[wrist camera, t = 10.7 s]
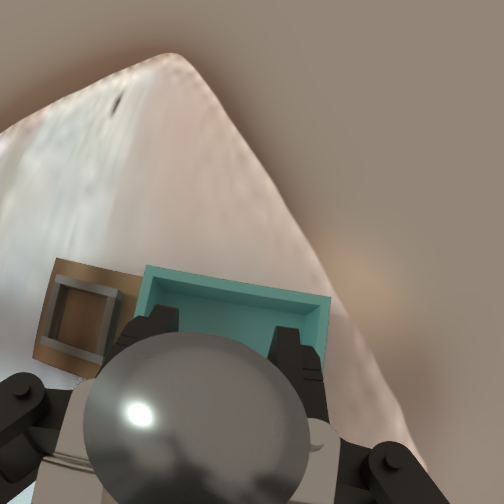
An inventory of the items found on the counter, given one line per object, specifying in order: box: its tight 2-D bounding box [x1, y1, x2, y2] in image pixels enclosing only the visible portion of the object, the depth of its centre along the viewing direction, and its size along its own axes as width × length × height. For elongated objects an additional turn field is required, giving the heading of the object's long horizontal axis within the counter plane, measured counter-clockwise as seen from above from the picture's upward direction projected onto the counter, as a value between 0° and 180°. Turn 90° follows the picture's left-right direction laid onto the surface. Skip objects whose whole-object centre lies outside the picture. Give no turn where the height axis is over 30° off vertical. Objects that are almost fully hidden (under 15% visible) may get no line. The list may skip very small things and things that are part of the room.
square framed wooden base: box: [32, 258, 143, 379], centre depth 27 cm, size 11×11×3 cm
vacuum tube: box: [83, 331, 310, 504], centre depth 9 cm, size 5×5×12 cm
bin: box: [133, 265, 331, 371], centre depth 25 cm, size 15×15×6 cm
